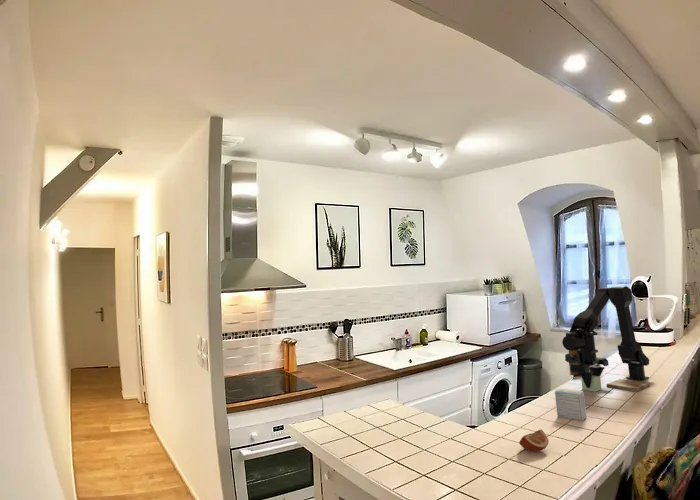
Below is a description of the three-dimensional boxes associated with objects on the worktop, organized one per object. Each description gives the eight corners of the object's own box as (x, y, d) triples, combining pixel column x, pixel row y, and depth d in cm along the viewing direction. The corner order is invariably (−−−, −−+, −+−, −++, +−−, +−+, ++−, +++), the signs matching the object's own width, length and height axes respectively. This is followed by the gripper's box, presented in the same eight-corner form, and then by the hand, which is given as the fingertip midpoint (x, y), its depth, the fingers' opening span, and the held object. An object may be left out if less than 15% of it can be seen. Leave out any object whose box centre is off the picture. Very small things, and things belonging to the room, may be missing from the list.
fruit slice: (533, 443, 125) (531, 425, 125) (555, 450, 119) (553, 431, 120) (515, 451, 120) (513, 433, 121) (536, 458, 115) (535, 439, 115)
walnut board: (620, 381, 182) (619, 379, 182) (649, 386, 173) (649, 383, 173) (606, 387, 176) (606, 384, 176) (636, 391, 167) (635, 388, 167)
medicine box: (587, 417, 143) (583, 390, 143) (583, 421, 140) (579, 393, 140) (561, 414, 148) (558, 388, 149) (557, 417, 145) (554, 391, 146)
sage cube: (589, 387, 178) (587, 374, 179) (601, 389, 174) (600, 376, 175) (582, 389, 176) (581, 376, 176) (594, 391, 171) (593, 378, 172)
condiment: (573, 371, 206) (570, 346, 207) (592, 373, 200) (589, 347, 200) (566, 374, 201) (563, 348, 202) (585, 377, 195) (582, 350, 196)
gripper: (580, 342, 188) (584, 379, 187) (555, 348, 178) (559, 387, 177) (606, 344, 179) (611, 383, 178) (582, 351, 168) (586, 392, 167)
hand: (591, 386), depth 175 cm, fingers closed on sage cube, 5 cm apart
